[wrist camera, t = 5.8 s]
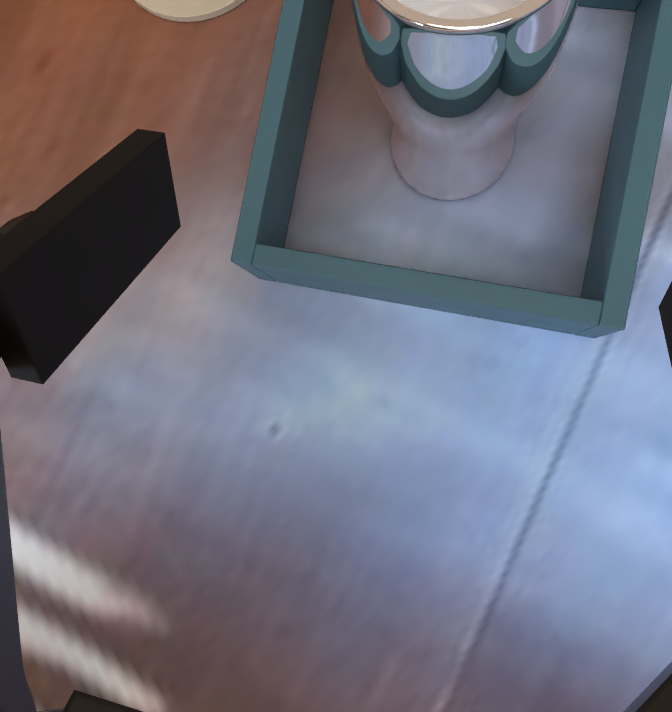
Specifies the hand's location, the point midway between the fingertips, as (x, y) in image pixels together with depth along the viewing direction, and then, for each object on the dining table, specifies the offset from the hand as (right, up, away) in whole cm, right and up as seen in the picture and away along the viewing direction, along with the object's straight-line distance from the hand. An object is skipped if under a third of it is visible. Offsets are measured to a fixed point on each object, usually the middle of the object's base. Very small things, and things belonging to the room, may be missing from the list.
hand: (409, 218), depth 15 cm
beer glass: (+4, +7, +15) cm, 17 cm away
